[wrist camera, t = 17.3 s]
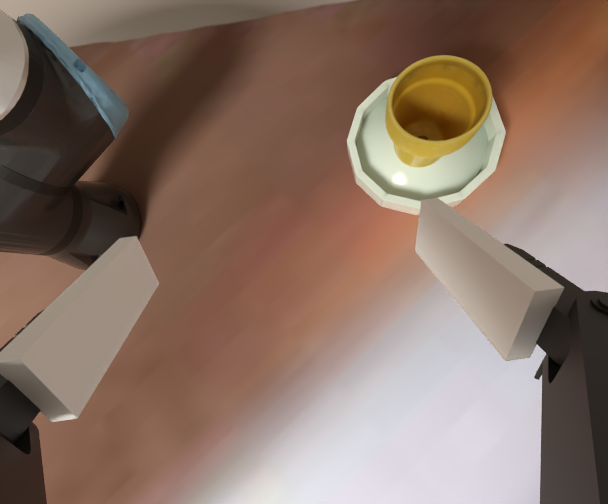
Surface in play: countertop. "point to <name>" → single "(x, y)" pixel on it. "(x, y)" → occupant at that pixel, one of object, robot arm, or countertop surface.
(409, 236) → the countertop surface
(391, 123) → the plant pot
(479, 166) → the sage basin
